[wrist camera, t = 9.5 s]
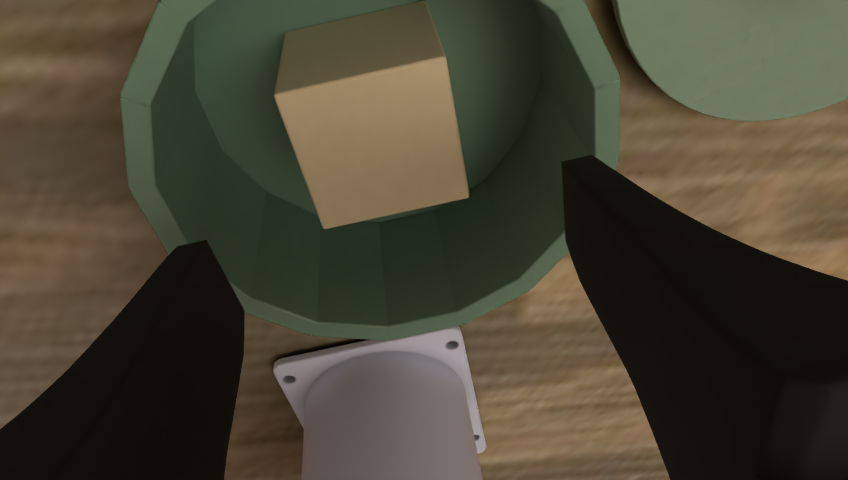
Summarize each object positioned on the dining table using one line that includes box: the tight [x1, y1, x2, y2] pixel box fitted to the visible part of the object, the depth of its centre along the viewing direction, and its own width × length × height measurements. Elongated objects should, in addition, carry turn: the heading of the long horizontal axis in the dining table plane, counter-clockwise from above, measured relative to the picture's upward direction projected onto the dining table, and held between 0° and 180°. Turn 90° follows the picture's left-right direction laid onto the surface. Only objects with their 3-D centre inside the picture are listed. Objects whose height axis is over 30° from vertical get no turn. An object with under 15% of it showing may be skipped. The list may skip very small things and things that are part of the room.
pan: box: [120, 0, 620, 341], centre depth 16 cm, size 11×11×6 cm
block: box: [274, 1, 469, 229], centre depth 17 cm, size 4×4×4 cm
